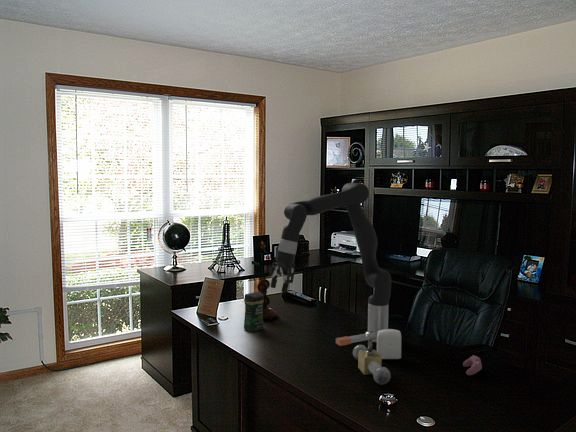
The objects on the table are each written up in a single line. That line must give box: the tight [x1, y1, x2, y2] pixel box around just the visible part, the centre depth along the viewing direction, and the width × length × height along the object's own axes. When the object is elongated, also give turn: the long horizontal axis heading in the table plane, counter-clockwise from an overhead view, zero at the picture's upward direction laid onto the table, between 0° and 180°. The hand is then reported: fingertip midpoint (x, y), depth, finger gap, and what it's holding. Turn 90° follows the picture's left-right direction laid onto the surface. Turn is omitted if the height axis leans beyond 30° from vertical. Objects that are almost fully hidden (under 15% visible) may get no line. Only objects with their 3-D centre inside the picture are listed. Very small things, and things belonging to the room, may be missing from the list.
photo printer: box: [376, 328, 402, 360], centre depth 203 cm, size 10×4×12 cm, turn 90°
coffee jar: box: [243, 290, 265, 333], centre depth 237 cm, size 10×8×19 cm
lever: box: [335, 330, 375, 347], centre depth 186 cm, size 17×4×2 cm, turn 117°
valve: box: [352, 340, 392, 386], centre depth 189 cm, size 24×7×13 cm, turn 12°
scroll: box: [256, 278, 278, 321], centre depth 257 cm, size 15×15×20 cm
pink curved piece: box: [462, 354, 483, 376], centre depth 190 cm, size 10×5×7 cm, turn 169°
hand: (278, 290), depth 197 cm, fingers open, 8 cm apart
